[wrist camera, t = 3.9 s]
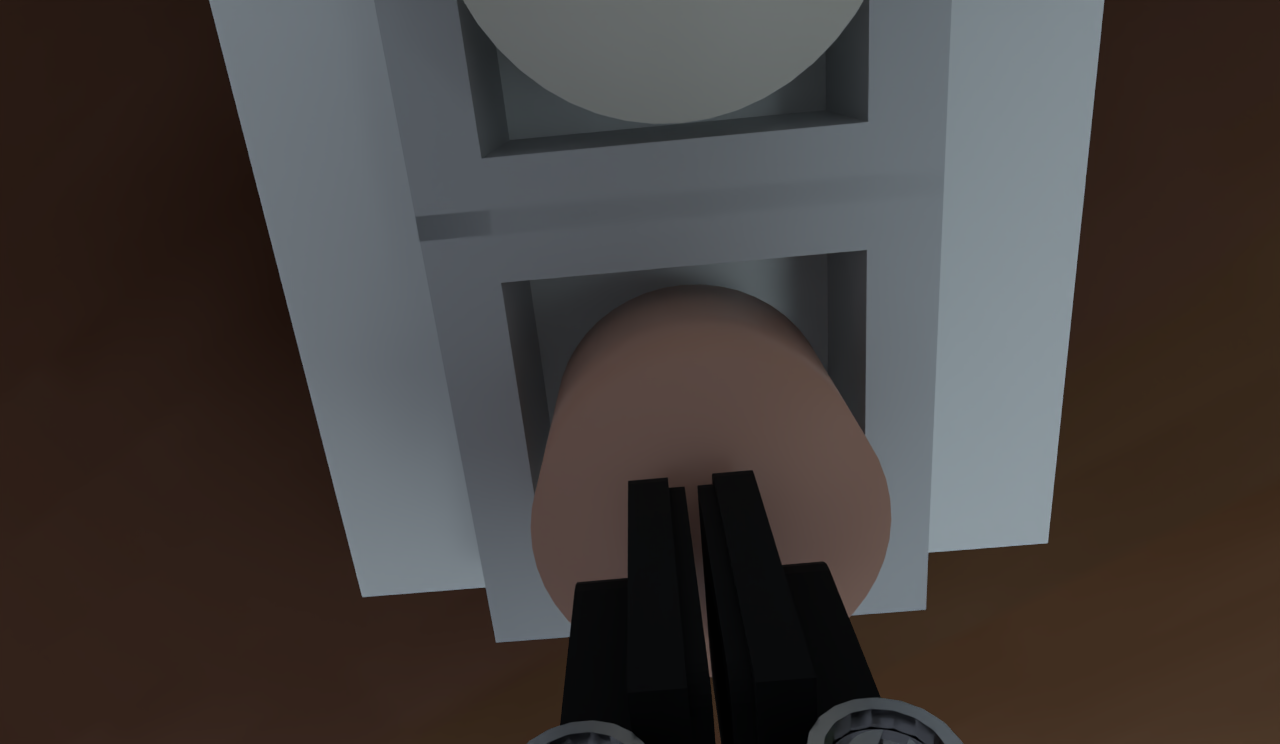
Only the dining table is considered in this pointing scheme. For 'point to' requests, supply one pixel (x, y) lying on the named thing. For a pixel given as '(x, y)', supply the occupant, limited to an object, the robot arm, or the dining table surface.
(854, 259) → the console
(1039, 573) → the dining table surface
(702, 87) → the cream button
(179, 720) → the dining table surface
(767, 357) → the brown rounded dome
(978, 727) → the dining table surface
